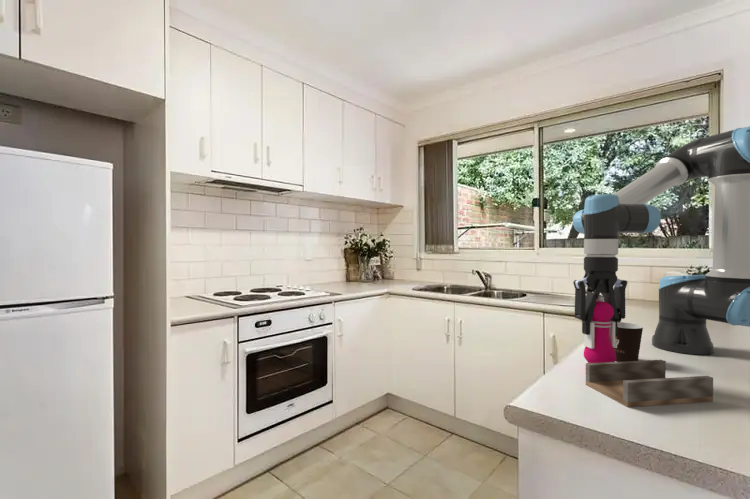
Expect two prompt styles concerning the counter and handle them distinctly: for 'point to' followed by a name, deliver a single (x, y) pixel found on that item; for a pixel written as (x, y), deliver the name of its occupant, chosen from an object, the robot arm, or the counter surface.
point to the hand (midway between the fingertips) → (599, 346)
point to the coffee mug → (627, 341)
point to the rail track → (646, 383)
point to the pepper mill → (601, 334)
